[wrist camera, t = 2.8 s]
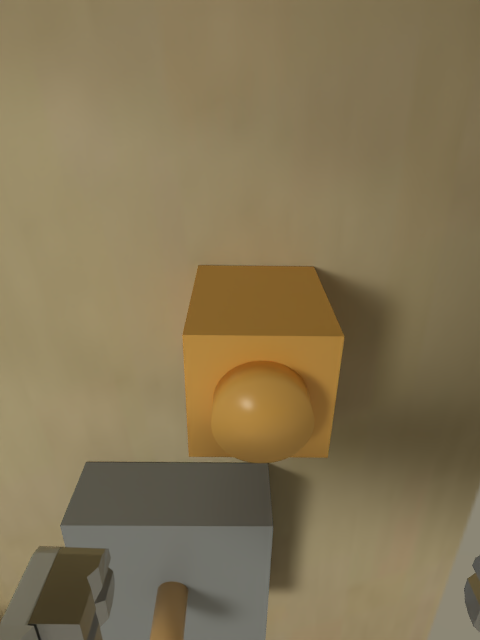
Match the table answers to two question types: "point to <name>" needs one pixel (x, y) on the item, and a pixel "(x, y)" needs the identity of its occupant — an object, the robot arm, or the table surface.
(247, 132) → the table surface
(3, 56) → the table surface
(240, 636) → the box
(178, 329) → the table surface
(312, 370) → the orange cube with knob
